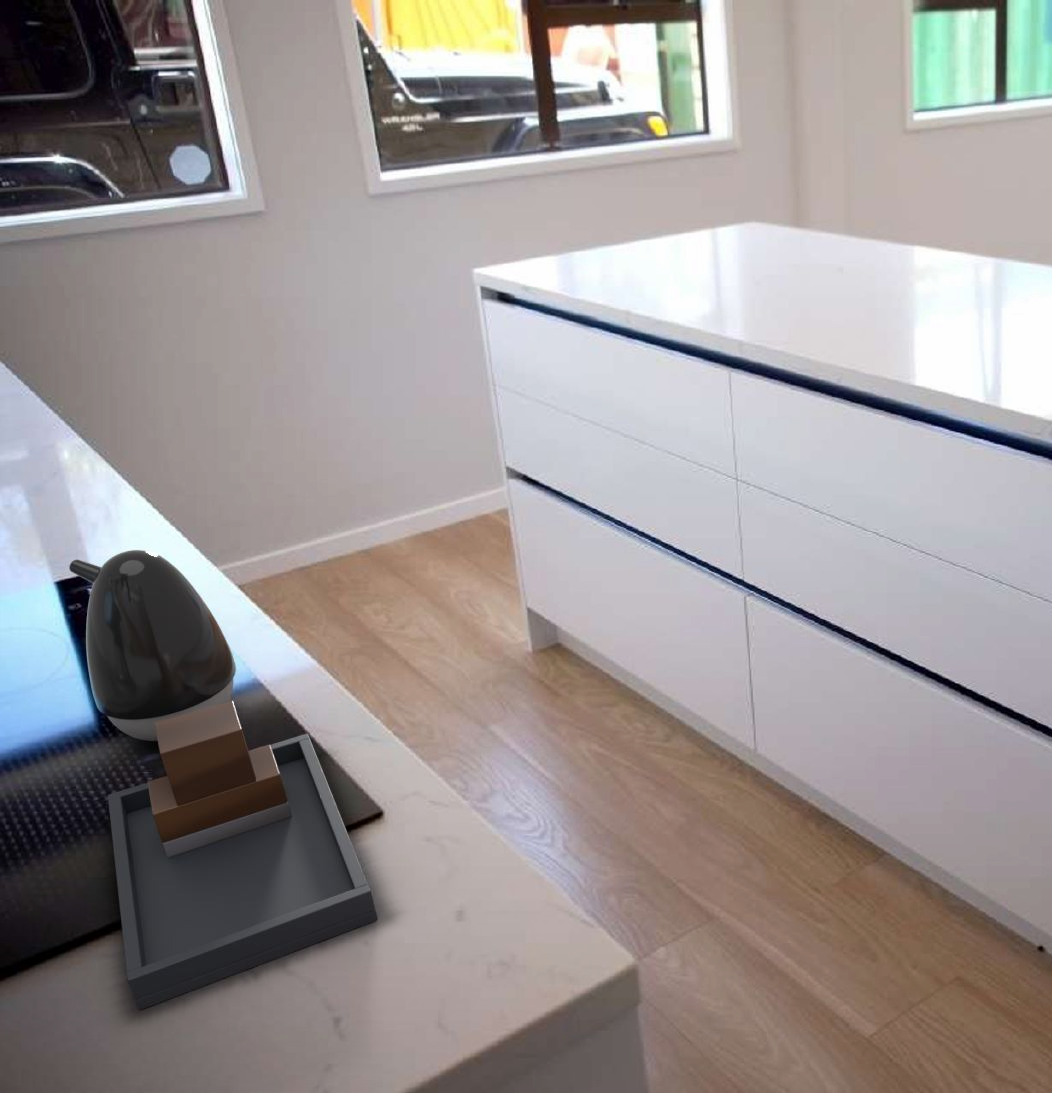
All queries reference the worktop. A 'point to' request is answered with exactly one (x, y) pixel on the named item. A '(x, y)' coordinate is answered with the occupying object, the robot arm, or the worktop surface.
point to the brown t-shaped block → (212, 781)
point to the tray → (235, 886)
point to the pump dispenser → (151, 643)
